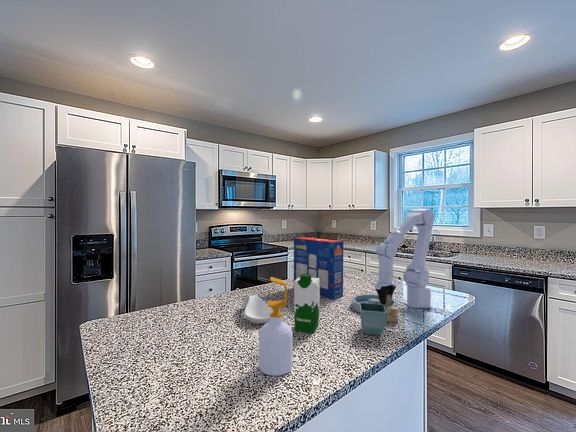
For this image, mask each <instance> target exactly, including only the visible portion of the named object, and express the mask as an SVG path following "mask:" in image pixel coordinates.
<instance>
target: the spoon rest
mask: <svg viewBox="0 0 576 432" xmlns="http://www.w3.org/2000/svg"><path fill="white" fill-rule="evenodd" d="M243 308H244V316H245V318H246V319H247V320H248V322H251V323H253V324H256V325H261V324H263V325H264V324H266V323H268V322H270V313H271V312H273V309H272V308H271V307H268V303H267V302H266V301H264V300H262V298H261V297H259V295H257V294H252V295H250V294H249V295H247V296H246V297H245V300H244V304H243Z"/></svg>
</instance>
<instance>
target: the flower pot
mask: <svg viewBox="0 0 576 432" xmlns="http://www.w3.org/2000/svg"><path fill="white" fill-rule="evenodd" d="M359 305H360V313H359V316H360V325H361V328H362V330H363V332H364V334H365V335H375V336H380V335H381V334H382V333H383V331H384V329H385V327H386V321H387V316H386V315H387V311H386V309H385V306H384V305H383V304H370V303H359Z"/></svg>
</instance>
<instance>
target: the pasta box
mask: <svg viewBox="0 0 576 432" xmlns="http://www.w3.org/2000/svg"><path fill="white" fill-rule="evenodd" d="M301 274H310V275H311V278H319V287H320V290H319V294H320V297H322V298H326V299H329V300H337V299H340V298H343V297H344V240H337V239H327V238H318V237H317V238H316V237H306V236H303V237H301V236H300V237H293V282H294V281H295V280H296V279H297V278H299V277H300V275H301Z"/></svg>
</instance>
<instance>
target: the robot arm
mask: <svg viewBox="0 0 576 432" xmlns="http://www.w3.org/2000/svg"><path fill="white" fill-rule="evenodd" d="M435 218H436V216H435V213H434V212H433V210H432V209H430V208H423V209H422V208H421V209H419V208H417V209H414V208H411V209H410V210H409V211H408V212H407V213H406V218H405V219H404V220H403V222H402V224H401V225H400V226H399V228H398V229H397V230H393V231H391V232H390V234H389V235H388V236H387V238H386V239H385V240H384V242H382V243H379V244H378V245H377V247H376V249H375V252H376V255H377V259H378V281H377V282H376V283H375V284H374V289H375V291H376V295H378V296H379V300H380V304H383V305H385V304H386V299H387V294H389V295H391V299H392V298H393V295H394V292H395V291H396V289H397V286H396V282H397V280H396V279H394V278H393V277H394V257H396V255H397V251H398V248H399V247H400V246H401V244H402V243H403V241H405V235H406V234H407V233H408V232H409V231H410V230H411V229H412V228H413V227H415V228H416V229H418V230H417V231H418V233H417V237H416V242H415V245H414V246H415V247H414V251H413V256H412V261H411V263H410V264H409V265H407V266H406V268H405V271H404V272H403V278H402V279H403V281H404V283H405V285H406V301H405V300H404V301H403V303H404V304H405V305H406V306H407V307H409V308H411V309H431V308H432V305H431V304H432V303H431V301H432V297H431V296H432V294H431V293H432V292H431V289H430V287H429V286H428V285H429V282H430V277H429V275H430V271H429V270H428V269H427V268H426V260H427V256H428V251H429V248H430V247H429V246H430V241H431V237H432V233H433V232H432V231H433V227H434V222H435Z"/></svg>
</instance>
